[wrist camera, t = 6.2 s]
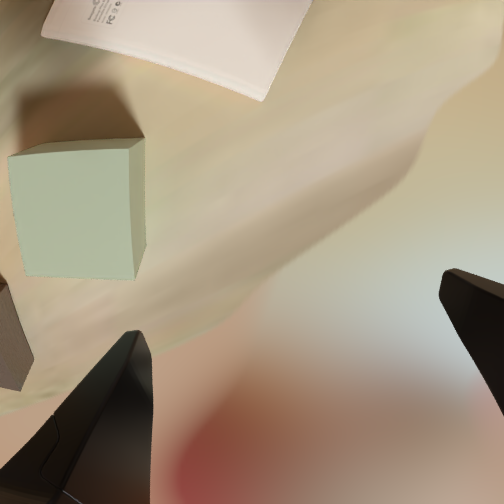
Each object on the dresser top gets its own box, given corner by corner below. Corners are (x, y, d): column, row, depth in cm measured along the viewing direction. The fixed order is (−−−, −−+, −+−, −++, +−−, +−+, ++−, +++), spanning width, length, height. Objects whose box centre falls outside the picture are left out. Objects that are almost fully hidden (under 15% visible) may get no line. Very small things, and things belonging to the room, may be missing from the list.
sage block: (44, 142, 14) (7, 156, 11) (145, 137, 15) (129, 148, 12) (53, 242, 17) (26, 275, 13) (146, 243, 18) (134, 280, 14)
